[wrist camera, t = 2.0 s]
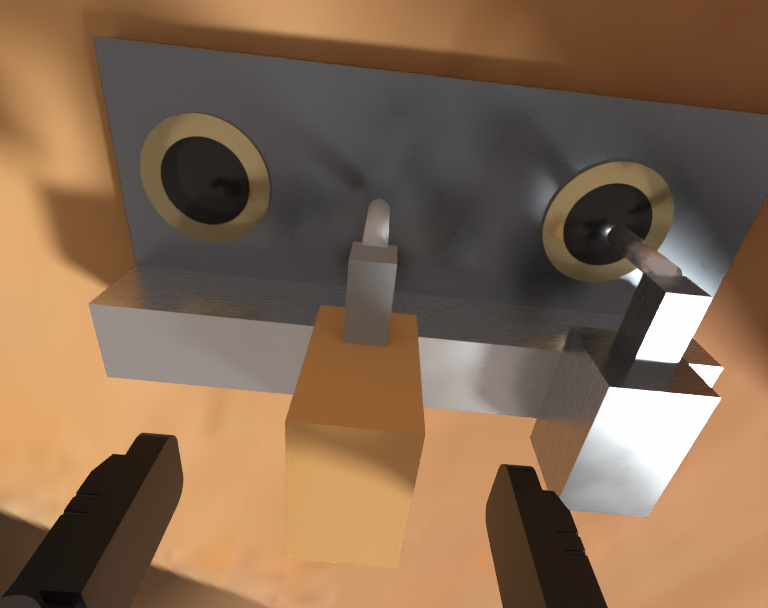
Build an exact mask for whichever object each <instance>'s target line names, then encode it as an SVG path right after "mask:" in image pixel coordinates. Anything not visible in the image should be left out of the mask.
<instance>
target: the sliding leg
mask: <svg viewBox="0 0 768 608" xmlns="http://www.w3.org/2000/svg"><path fill="white" fill-rule="evenodd" d="M389 215H390V207H389V204H388V203H387V202H386V201H385V200H383V199H375V200H373V201H372V202H371V203H370V205H369V208H368V214H367V219H366V224H365V230H364V235H363V241H362V242H355V241H353V243H352V248H351V252H350V256H349V263H348V278H347V292H346V307H345V308H344V307H334V306H324V305H320V309H319V312H318V315H317V318H316V322H315V325H314V328H313V332H312V335H311V338H310V342H309V345H308V348H307V351H306V355H305V358H304V361H303V365H302V368H301V371H300V375H299V378H298V381H297V384H296V388H295V391H294V394H293V398H292V401H291V404H290V408H289V411H288V414H287V417H286V421H285V438H286V557H287V559H295V560H307V561H318V562H330V563H342V564H353V565H365V566H377V567H388V568H398V565H399V560H400V556H401V551H402V546H403V541H404V536H405V531H406V526H407V521H408V516H409V512H410V507H411V502H412V497H413V492H414V487H415V482H416V477H417V472H418V467H419V463H420V458H421V453H422V448H423V443H424V438H425V424H424V410H423V397H422V383H421V369H420V355H419V341H418V327H417V315H412V314H402V313H393V312H391V309H392V301H393V293H394V286H395V278H396V270H397V246H393V245H388V236H389Z"/></svg>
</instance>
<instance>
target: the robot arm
mask: <svg viewBox="0 0 768 608" xmlns="http://www.w3.org/2000/svg"><path fill="white" fill-rule="evenodd" d="M182 488H183V472H182V466H181V460H180V454H179V448H178V442H177V438H176V437H175V436H174V435H163V434H152V433H141V434H140V435H138V437H137V438H136V439H135V440H134V442H133V444H132V445H131V447H130V448H129V450H128V451H127V453H126V454H125V455H119V454H112V455H111V456H110V457H109V458H107V459H106V460H105V461H104V462H102V463H101V464H100V465H99V466H97V467H96V468H95V469H94V470H92V471H91V473H90V474H89V475H88V477H87V478H86V480H85V481H84V483H83V484H82V485H81V487H80V488H79V490H78V491H77V494H76V496H75V497H73V498H72V500H71V501H70V503H69V504H68V505H67V507H66V508H65V510H64V514H63V515H60V517H59V518H58V520H57V521H56V523H55V524H54V525H53V527H52V528H51V530H50V531H49V533H48V534H47V536H46V537H45V538H44V540H43V541H42V543H41V544H40V545H39V547H38V548H37V550H36V551H35V553H34V554H33V556H32V557H31V558H30V560H29V561H28V563H27V564H26V565H25V567H24V568H23V570H22V571H21V573H20V574H19V575H18V577H17V578H16V580H15V581H14V583H13V584H12V585H11V586H10V588H9V589H8V590H7V591H6V593H4V595H3V596H2V597H1V598H0V608H130V607H131V604H132V602H133V600H134V598H135V596H136V594H137V592H138V589H139V587H140V585H141V583H142V580H143V578H144V576H145V574H146V572H147V570H148V568H149V565H150V563H151V561H152V559H153V557H154V555H155V552H156V550H157V548H158V546H159V544H160V542H161V539H162V537H163V535H164V533H165V531H166V529H167V526H168V524H169V522H170V520H171V518H172V516H173V513H174V511H175V509H176V507H177V505H178V502H179V500H180V496H181V493H182ZM486 527H487V532H488V537H489V542H490V547H491V552H492V557H493V561H494V566H495V571H496V576H497V581H498V586H499V591H500V596H501V600H502V605H503V608H608V607H607V605H606V602H605V600H604V597H603V595H602V592H601V589H600V587H599V584H598V582H597V579H596V577H595V574H594V572H593V569H592V567H591V564H590V561H589V559H588V556H586V555H585V549H584V546H583V544H582V541H581V538H580V537H578V531H577V528H576V526H575V523H574V521H573V518H572V515H571V513H570V511H569V509H568V508H567V507H566V506H565V504H564V503H563V502H562V501H561V499H560V498H559V497H558V496H557V494H556V493H555V492H554V491H547V490H542V488H541V485H540V482H539V479H538V477H537V474H536V471H535V470H534V468H533V467H531V466H520V465H508V464H501V465H500V467H499V469H498V472H497V475H496V478H495V481H494V484H493V486H492V489H491V492H490V495H489V498H488V501H487V505H486Z"/></svg>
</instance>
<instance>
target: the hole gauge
mask: <svg viewBox="0 0 768 608" xmlns="http://www.w3.org/2000/svg"><path fill="white" fill-rule="evenodd" d="M93 39H94V44H95V50H96V55H97V60H98V66H99V71H100V76H101V82H102V87H103V92H104V98H105V103H106V108H107V114H108V119H109V124H110V130H111V135H112V140H113V146H114V151H115V156H116V162H117V167H118V172H119V177H120V183H121V188H122V193H123V199H124V204H125V209H126V215H127V220H128V225H129V231H130V236H131V241H132V247H133V252H134V257H135V263H136V265H135V266H134V267H133V268H132V269H130V270H129V271H128V272H127V273H125V274H124V275H123V276H122V277H121V278H119V279H118V280H117V281H116V282H114V283H113V284H112V285H111V286H110V287H108V288H107V289H106V290H105V291H103V292H102V293H101V294H100V295H99V296H97V297H96V298H95V299H94V300H92V301H91V302H90V303H89V307H90V311H91V315H92V319H93V323H94V327H95V331H96V335H97V339H98V342H99V346H100V350H101V354H102V358H103V362H104V366H105V370H106V374H107V377H115V378H125V379H136V380H146V381H156V382H167V383H177V384H188V385H198V386H208V387H219V388H229V389H240V390H250V391H260V392H271V393H281V394H292V395H293V394H294V391H295V388H296V384H297V381H298V378H299V375H300V371H301V368H302V365H303V361H304V358H305V355H306V351H307V348H308V345H309V342H310V338H311V335H312V332H313V328H314V325H315V322H316V318H317V315H318V312H319V309H320V305H324V306H334V307H344V308H345V307H346V292H347V278H348V263H349V256H350V252H351V248H352V243H353V241H355V242H362V241H363V235H364V230H365V224H366V219H367V214H368V208H369V205H370V203H371V202H372V201H373V200H375V199H383V200H385V201H386V202H387V203H388V204H389V207H390V215H389V236H388V245H393V246H397V270H396V278H395V286H394V293H393V301H392V309H391V312H393V313H402V314H412V315H417V327H418V341H419V355H420V369H421V383H422V397H423V407H427V408H437V409H447V410H458V411H468V412H479V413H489V414H499V415H510V416H520V417H531V418H537V420H536V423H535V426H534V428H533V431H532V434H531V437H530V439H531V442H532V445H533V448H534V451H535V454H536V457H537V460H538V462H539V465H540V468H541V471H542V474H543V477H544V480H545V483H546V486H547V489H548V491H554V492H555V493H556V494H557V496H558V497H559V498H560V499H561V501H562V502H563V503H564V504H565V506H566V507H567V508H568V509H569V510H572V511H583V512H594V513H605V514H616V515H627V516H638V517H647V516H648V515H649V513H650V512H651V510H652V508H653V507H654V505H655V503H656V502H657V500H658V499H659V497H660V495H661V494H662V492H663V491H664V489H665V487H666V486H667V484H668V482H669V481H670V479H671V478H672V476H673V474H674V473H675V471H676V470H677V468H678V466H679V465H680V463H681V462H682V460H683V458H684V457H685V455H686V453H687V452H688V450H689V449H690V447H691V445H692V444H693V442H694V441H695V439H696V437H697V436H698V434H699V432H700V431H701V429H702V428H703V426H704V424H705V423H706V421H707V420H708V418H709V416H710V415H711V413H712V411H713V410H714V408H715V407H716V405H717V403H718V402H719V400H720V399H721V398H720V396H719V395H718V394H717V393H716V392H715V391H714V390H713V389H712V388H711V387H712V385H713V384H714V382H715V380H716V379H717V377H718V375H719V374H720V372H721V370H722V369H723V367H722V366H721V365H720V364H719V363H718V362H717V361H716V360H715V359H714V358H713V357H712V356H711V355H710V354H709V353H708V352H707V351H706V350H705V349H704V348H703V347H702V346H700V345H699V344H698V343H697V342H696V341H695V340H694V339H693V338H692V337H693V335H694V333H695V331H696V329H697V327H698V325H699V323H700V321H701V320H702V318H703V316H704V314H705V312H706V310H707V308H708V306H709V305H710V303H711V301H712V299H713V297H714V295H715V293H716V291H717V290H718V288H719V286H720V284H721V282H722V280H723V278H724V276H725V274H726V273H727V271H728V269H729V267H730V265H731V263H732V261H733V259H734V258H735V256H736V254H737V252H738V250H739V248H740V246H741V244H742V242H743V241H744V239H745V237H746V235H747V233H748V231H749V229H750V227H751V226H752V224H753V222H754V220H755V218H756V216H757V214H758V212H759V211H760V209H761V207H762V205H763V203H764V201H765V199H766V197H767V195H768V114H762V113H753V112H745V111H736V110H727V109H719V108H710V107H702V106H693V105H685V104H676V103H668V102H659V101H650V100H642V99H633V98H625V97H616V96H608V95H599V94H590V93H582V92H573V91H565V90H556V89H548V88H539V87H531V86H522V85H513V84H505V83H496V82H488V81H479V80H471V79H462V78H454V77H445V76H436V75H428V74H419V73H411V72H402V71H394V70H385V69H377V68H368V67H359V66H351V65H342V64H334V63H325V62H317V61H308V60H299V59H291V58H282V57H274V56H265V55H257V54H248V53H240V52H231V51H222V50H214V49H205V48H197V47H188V46H180V45H171V44H163V43H154V42H145V41H137V40H128V39H120V38H110V37H93Z"/></svg>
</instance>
